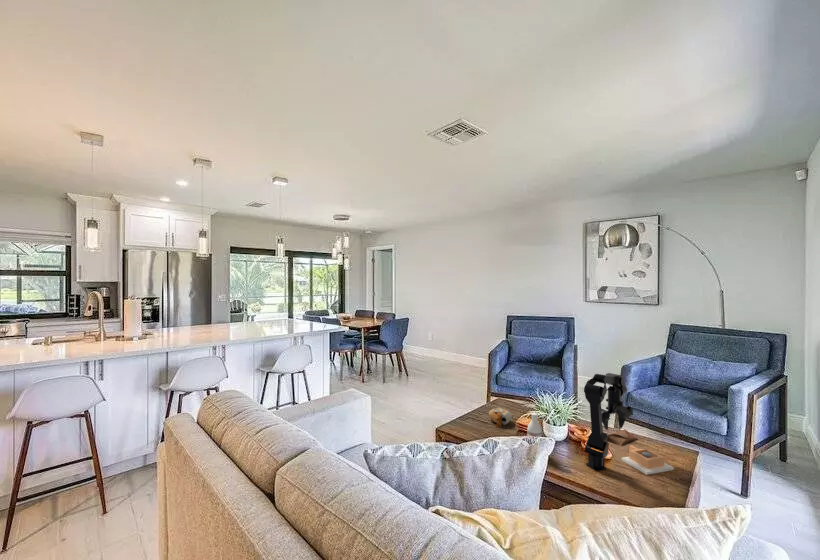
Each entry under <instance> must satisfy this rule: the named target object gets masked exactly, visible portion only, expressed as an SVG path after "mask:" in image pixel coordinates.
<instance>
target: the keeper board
mask: <svg viewBox="0 0 820 560" xmlns="http://www.w3.org/2000/svg"><path fill="white" fill-rule="evenodd" d="M642 455H644V457H646V458H651V457H652V454H651V453H648V452H642ZM621 461H623V462H624V463H626V464H628V466H629V465H630V467H632V468H634V469H636V470H637V471H640V472H641V473H643V474H645V475H653V474H654V475H655V474H660V473H664V472H670V471H674V470H675V467H674V466H673V465H670V464H669V463H667V462H665V461H664V466H660V467H654V468H649V469H647V468H645V467H644V466H642V465H640V464H638V463H636V462H635V461H633V460H631V459H629V456H622V457H621Z"/></svg>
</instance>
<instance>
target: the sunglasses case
mask: <svg viewBox="0 0 820 560" xmlns="http://www.w3.org/2000/svg"><path fill="white" fill-rule="evenodd" d="M607 439H608V443H611V444H614V445H616V446H620V447H622V446H624V445H626V444H628V443H631V442H634V441H636V440H638V438H637V437H636V436H634V434H632V433H631V432H629V431H628V430H626V428H624V429H622V430H619V431H616V432H613V433H611V434H607Z"/></svg>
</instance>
